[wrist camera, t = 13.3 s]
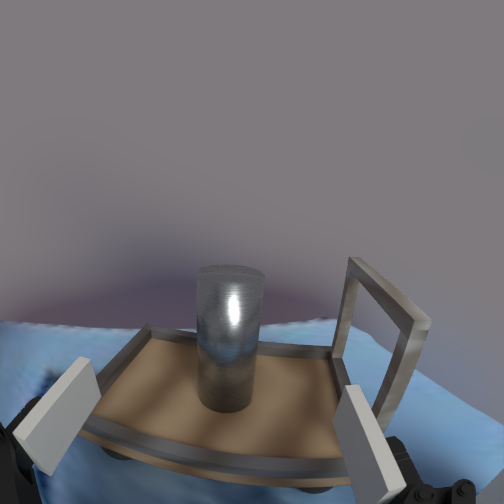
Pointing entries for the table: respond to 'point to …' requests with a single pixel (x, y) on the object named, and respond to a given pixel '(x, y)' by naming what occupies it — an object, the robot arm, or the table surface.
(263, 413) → the caster cart
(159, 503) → the table surface
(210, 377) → the steel cylinder
